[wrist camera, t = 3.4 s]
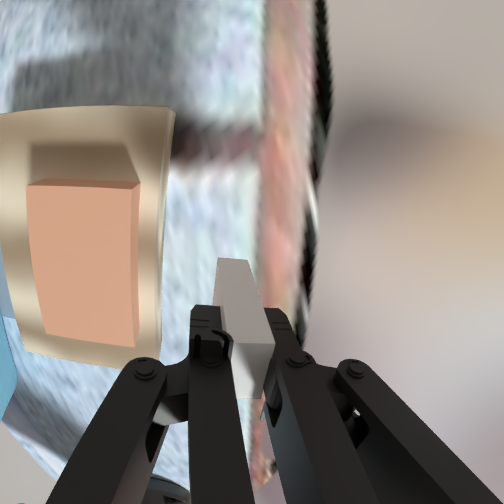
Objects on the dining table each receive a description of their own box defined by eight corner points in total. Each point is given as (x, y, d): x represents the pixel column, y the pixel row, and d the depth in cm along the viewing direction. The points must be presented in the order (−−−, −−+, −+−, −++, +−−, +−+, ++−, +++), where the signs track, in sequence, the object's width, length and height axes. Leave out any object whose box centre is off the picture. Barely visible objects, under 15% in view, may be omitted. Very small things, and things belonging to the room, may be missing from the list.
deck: (161, 339, 23) (157, 373, 19) (43, 322, 21) (25, 350, 17) (176, 113, 17) (168, 107, 13) (30, 114, 15) (-2, 114, 11)
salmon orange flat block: (139, 327, 18) (134, 347, 16) (57, 316, 16) (46, 333, 15) (140, 182, 14) (132, 189, 13) (43, 178, 13) (26, 185, 11)
